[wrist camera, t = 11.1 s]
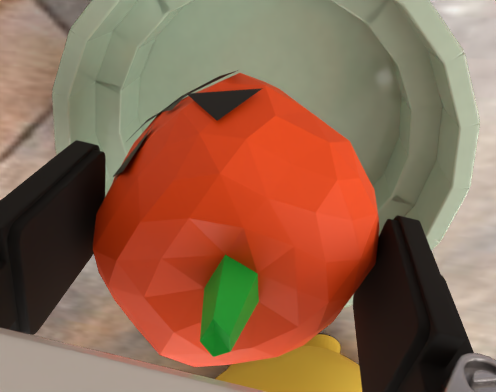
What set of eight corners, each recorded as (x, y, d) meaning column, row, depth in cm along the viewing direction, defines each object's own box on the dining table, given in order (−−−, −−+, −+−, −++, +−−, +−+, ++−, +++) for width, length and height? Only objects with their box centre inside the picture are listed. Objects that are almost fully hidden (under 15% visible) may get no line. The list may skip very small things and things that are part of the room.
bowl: (115, -110, 15) (37, -132, 11) (503, -23, 15) (580, -11, 11) (109, 212, 23) (61, 273, 18) (369, 273, 22) (382, 350, 18)
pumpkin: (106, 222, 15) (-15, 382, 9) (201, 9, 11) (87, 72, 5) (279, 310, 16) (261, 501, 10) (424, 145, 12) (518, 314, 6)
